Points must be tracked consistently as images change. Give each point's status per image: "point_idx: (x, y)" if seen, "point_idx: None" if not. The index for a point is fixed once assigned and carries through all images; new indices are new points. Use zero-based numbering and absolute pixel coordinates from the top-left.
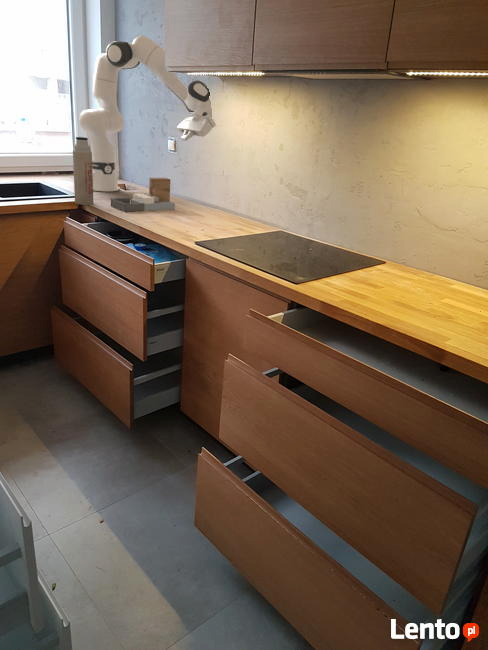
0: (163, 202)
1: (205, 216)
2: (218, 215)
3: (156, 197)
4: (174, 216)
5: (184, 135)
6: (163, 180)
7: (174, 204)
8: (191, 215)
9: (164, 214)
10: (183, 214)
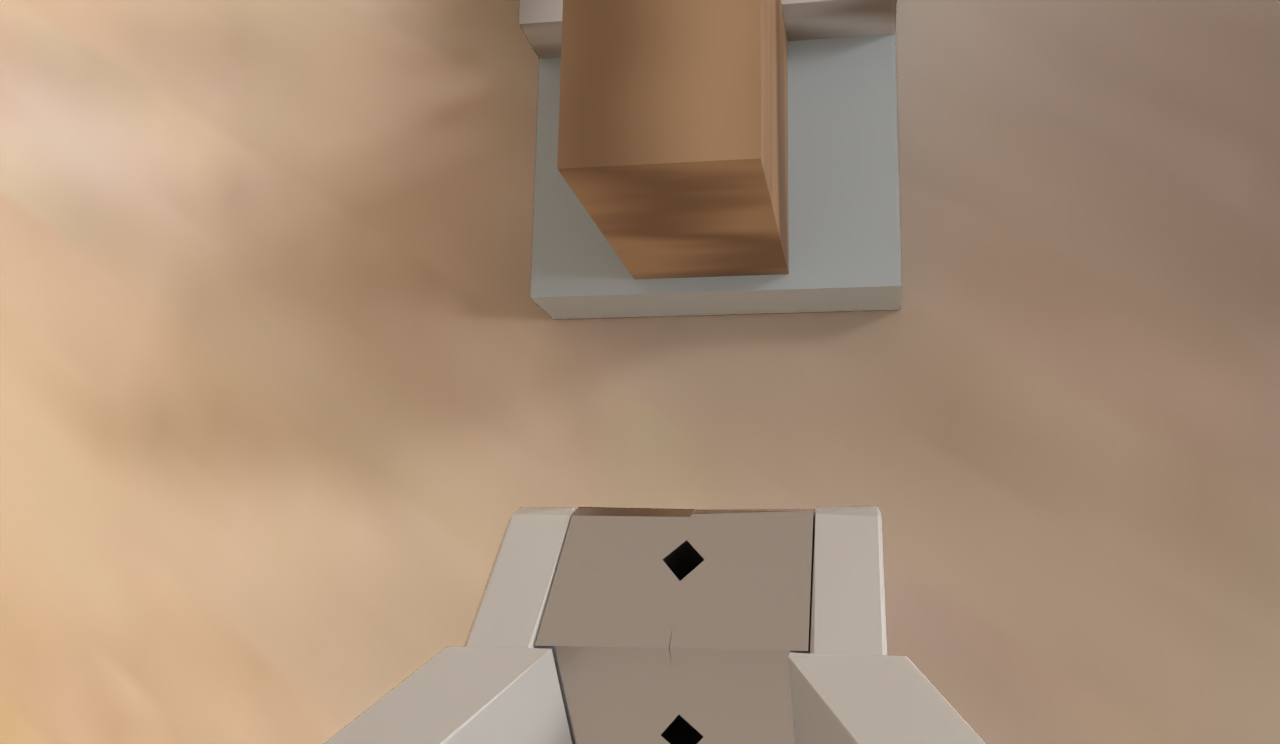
0: None
1: (101, 470)
2: (86, 679)
3: (548, 2)
4: (221, 110)
5: (709, 641)
6: (565, 37)
7: (535, 299)
8: (199, 332)
9: (340, 52)
10: (272, 267)
